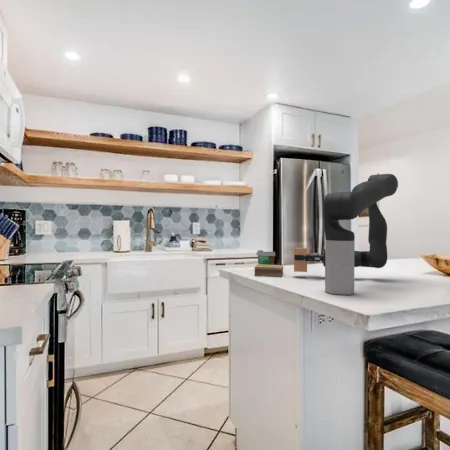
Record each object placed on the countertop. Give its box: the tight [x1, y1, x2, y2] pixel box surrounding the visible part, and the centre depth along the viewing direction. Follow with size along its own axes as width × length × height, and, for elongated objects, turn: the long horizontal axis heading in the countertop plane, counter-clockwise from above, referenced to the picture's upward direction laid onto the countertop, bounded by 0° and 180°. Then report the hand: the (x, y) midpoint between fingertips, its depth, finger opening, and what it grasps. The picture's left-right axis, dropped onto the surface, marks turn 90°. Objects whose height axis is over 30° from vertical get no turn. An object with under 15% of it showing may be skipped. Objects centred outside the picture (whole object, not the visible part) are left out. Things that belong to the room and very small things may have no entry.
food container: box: [256, 250, 276, 265], centre depth 165 cm, size 12×6×10 cm, turn 25°
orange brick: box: [293, 247, 308, 273], centre depth 145 cm, size 6×6×10 cm
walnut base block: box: [254, 263, 284, 278], centre depth 152 cm, size 12×12×4 cm
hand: (294, 257), depth 145 cm, fingers closed on orange brick, 5 cm apart
